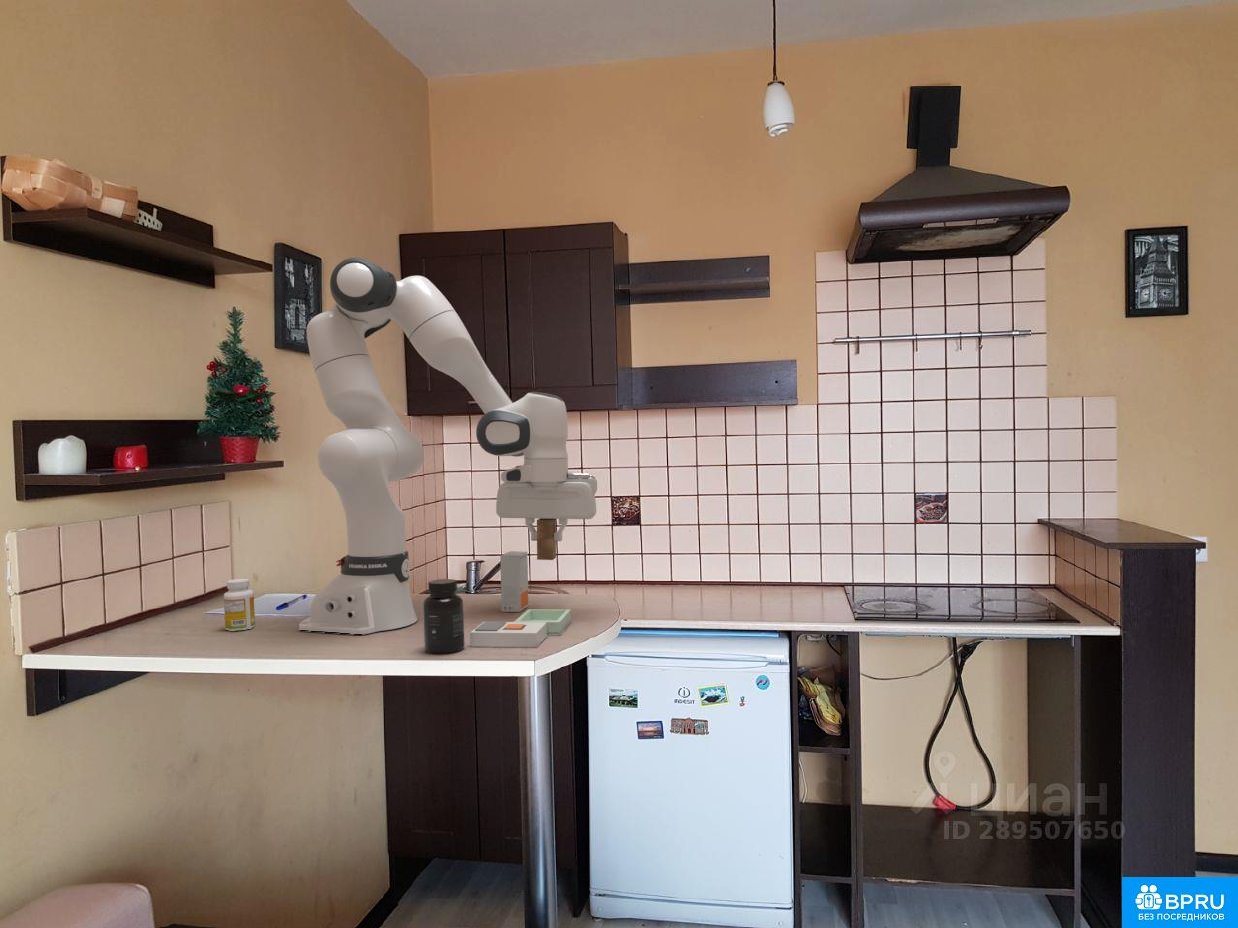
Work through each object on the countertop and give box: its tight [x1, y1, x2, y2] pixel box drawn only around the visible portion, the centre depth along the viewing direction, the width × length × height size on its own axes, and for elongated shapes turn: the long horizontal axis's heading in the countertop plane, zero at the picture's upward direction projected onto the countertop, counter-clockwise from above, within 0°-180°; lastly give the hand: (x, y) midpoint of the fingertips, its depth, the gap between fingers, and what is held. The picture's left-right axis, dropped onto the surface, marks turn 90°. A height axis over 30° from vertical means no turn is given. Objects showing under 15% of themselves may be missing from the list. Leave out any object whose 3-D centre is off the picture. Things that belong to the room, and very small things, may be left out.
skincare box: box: [500, 550, 529, 613], centre depth 174 cm, size 6×4×12 cm
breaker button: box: [504, 624, 525, 630], centre depth 148 cm, size 3×3×2 cm
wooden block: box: [536, 518, 557, 561], centre depth 167 cm, size 3×3×8 cm
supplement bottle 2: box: [422, 578, 465, 655], centre depth 143 cm, size 7×7×12 cm
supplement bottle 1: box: [223, 578, 256, 631], centre depth 163 cm, size 5×5×10 cm
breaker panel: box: [469, 621, 548, 648], centre depth 148 cm, size 12×8×3 cm, turn 82°
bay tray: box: [513, 608, 572, 637], centre depth 157 cm, size 9×11×2 cm
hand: (546, 540), depth 167 cm, fingers closed on wooden block, 3 cm apart
